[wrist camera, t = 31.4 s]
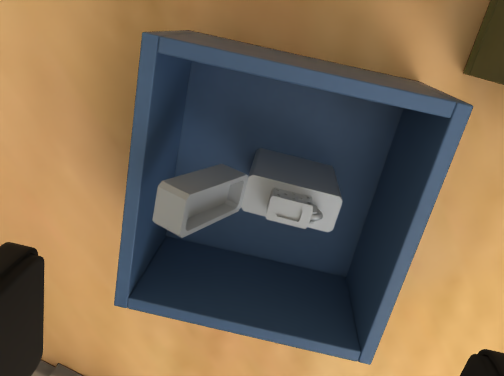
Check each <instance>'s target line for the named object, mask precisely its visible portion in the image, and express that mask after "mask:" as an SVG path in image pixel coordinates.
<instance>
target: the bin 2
mask: <svg viewBox="0 0 504 376" xmlns="http://www.w3.org/2000/svg"><path fill="white" fill-rule="evenodd" d="M463 73H464V74H467V75H471V76H474V77H478V78H481V79H485V80H489V81H492V82H496V83H499V84H503V85H504V0H491V1H490V4H489V6H488V9H487V12H486V14H485V17H484V19H483V22H482V25H481V27H480V30H479V33H478V35H477V38H476V41H475V43H474V46H473V49H472V51H471V54H470V56H469V59H468V62H467V64H466V67H465V70H464V72H463Z"/></svg>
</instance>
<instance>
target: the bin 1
mask: <svg viewBox="0 0 504 376" xmlns="http://www.w3.org/2000/svg"><path fill="white" fill-rule="evenodd" d="M472 109H473V106H472V105H471V104H468V103H466V102H464V101H462V100H459V99H457V98H455V97H453V96H450V95H448V94H446V93H444V92H441V91H439V90H437V89H435V88H432V87H430V86H428V85H426V84H424V83H421V82H419V81H414V80H410V79H405V78H401V77H396V76H392V75H387V74H383V73H378V72H374V71H369V70H365V69H360V68H356V67H351V66H347V65H342V64H338V63H333V62H329V61H324V60H320V59H315V58H311V57H306V56H302V55H297V54H293V53H288V52H284V51H279V50H275V49H270V48H266V47H261V46H257V45H252V44H248V43H243V42H239V41H235V40H230V39H226V38H221V37H217V36H212V35H208V34H203V33H199V32H194V31H190V30H183V31H157V32H143V33H142V40H141V50H140V60H139V69H138V79H137V89H136V98H135V108H134V118H133V127H132V137H131V146H130V156H129V166H128V175H127V185H126V195H125V204H124V214H123V224H122V233H121V243H120V252H119V262H118V272H117V281H116V291H115V301H114V305H115V306H119V307H124V308H127V307H128V308H129V309H133V310H137V311H142V312H146V313H150V314H154V315H159V316H163V317H167V318H172V319H176V320H180V321H185V322H189V323H193V324H197V325H202V326H206V327H210V328H215V329H219V330H223V331H228V332H232V333H236V334H240V335H245V336H249V337H253V338H258V339H262V340H266V341H271V342H275V343H279V344H284V345H288V346H292V347H296V348H301V349H305V350H309V351H314V352H318V353H322V354H327V355H331V356H335V357H339V358H344V359H348V360H352V361H358V362H361V363H365V364H371V362H372V360H373V357H374V355H375V352H376V350H377V347H378V345H379V342H380V340H381V337H382V335H383V332H384V330H385V327H386V325H387V322H388V320H389V317H390V315H391V312H392V310H393V307H394V305H395V302H396V300H397V297H398V295H399V292H400V290H401V287H402V284H403V282H404V279H405V277H406V274H407V272H408V269H409V267H410V264H411V262H412V259H413V257H414V254H415V252H416V249H417V247H418V244H419V242H420V239H421V237H422V234H423V232H424V229H425V227H426V224H427V222H428V219H429V217H430V214H431V212H432V209H433V207H434V204H435V202H436V199H437V197H438V194H439V192H440V189H441V187H442V184H443V182H444V179H445V177H446V174H447V172H448V169H449V167H450V164H451V162H452V159H453V157H454V154H455V152H456V149H457V146H458V144H459V141H460V139H461V136H462V134H463V131H464V129H465V126H466V124H467V121H468V119H469V116H470V114H471V111H472ZM260 148H263V149H267V150H271V151H275V152H279V153H283V154H287V155H291V156H295V157H298V158H302V159H306V160H310V161H314V162H318V163H322V164H326V165H330V166H332V167H333V169H334V171H335V175H336V179H337V182H338V186H339V190H340V193H341V197H342V201H343V202H342V205H341V208H340V211H339V214H338V217H337V219H336V222H335V225H334V228H333V230H332V231H330V232H325V231H321V230H317V229H313V228H309V227H307V228H306V229H303V228H299V227H295V226H291V225H287V224H283V223H279V222H275V221H271V220H267V219H266V217H265V216H262V215H258V214H254V213H250V212H246V211H243V209H242V208H240V209H239V211H238V212H236V213H234V214H231V215H229V216H227V217H225V218H223V219H221V220H219V221H217V222H215V223H213V224H211V225H208V226H206V227H204V228H202V229H200V230H198V231H196V232H194V233H192V234H190V235H187V236H185V237H183V238H181V237H179V236H177V235H176V234H174V233H172V232H170V231H168V230H166V229H165V228H163V227H161V226H159V225H157V224H156V223H154V222H153V221H152V220H153V213H154V207H155V201H156V195H157V188H158V185H159V184H160V183H161V181H163V180H167V179H170V178H174V177H177V176H180V175H184V174H187V173H191V172H194V171H198V170H201V169H205V168H208V167H212V166H215V165H219V164H224V165H226V166H228V167H231V168H233V169H235V170H238V171H240V172H242V173H245V174H247V175H248V176H249V172H250V169H251V166H252V163H253V160H254V157H255V153H256V150H258V149H260Z"/></svg>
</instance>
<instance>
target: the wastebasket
mask: <svg viewBox="0 0 504 376" xmlns="http://www.w3.org/2000/svg"><path fill="white" fill-rule="evenodd" d="M32 376H82V375H80V374H78V373H76V372H74V371H72V370H70V369H69V368H67V367H65V366H63V365H61V364H59V363H58V365H57V366H56V367H54V366H52V365H50V364H48V363H46V362H44V361H42V360H40V363H39V365H38V367H37V368H36V370H35V371H34V373H33V374H32Z"/></svg>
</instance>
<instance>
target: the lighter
mask: <svg viewBox="0 0 504 376" xmlns="http://www.w3.org/2000/svg"><path fill="white" fill-rule="evenodd" d="M342 202H343V201H342V197H341V193H340V190H339V186H338V182H337V179H336V175H335V171H334V169H333V167H332V166H330V165H326V164H322V163H318V162H314V161H310V160H306V159H302V158H298V157H295V156H291V155H287V154H283V153H279V152H275V151H271V150H267V149H263V148H260V149H258V150H256V153H255V157H254V160H253V163H252V166H251V169H250V172H249V176H248V175H247V174H245V173H242V172H240V171H238V170H235V169H233V168H231V167H228V166H226V165H224V164H219V165H215V166H212V167H208V168H205V169H201V170H198V171H194V172H191V173H187V174H184V175H180V176H177V177H174V178H170V179H167V180H163V181H161V183H160V184H159V185H158V188H157V195H156V201H155V207H154V213H153V220H152V221H153V222H154V223H156V224H157V225H159V226H161V227H163V228H165V229H166V230H168V231H170V232H172V233H174V234H176V235H177V236H179V237H181V238H183V237H185V236H187V235H190V234H192V233H194V232H196V231H198V230H200V229H202V228H204V227H206V226H208V225H211V224H213V223H215V222H217V221H219V220H221V219H223V218H225V217H227V216H229V215H231V214H234V213H236V212H238V211H239V209H240V208H242V209H243V211H246V212H250V213H254V214H258V215H262V216H265V217H266V219H267V220H271V221H275V222H279V223H283V224H287V225H291V226H295V227H299V228H303V229H306V228H307V227H309V228H313V229H317V230H321V231H325V232H330V231H332V230H333V228H334V225H335V222H336V219H337V217H338V214H339V211H340V208H341V205H342Z"/></svg>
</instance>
